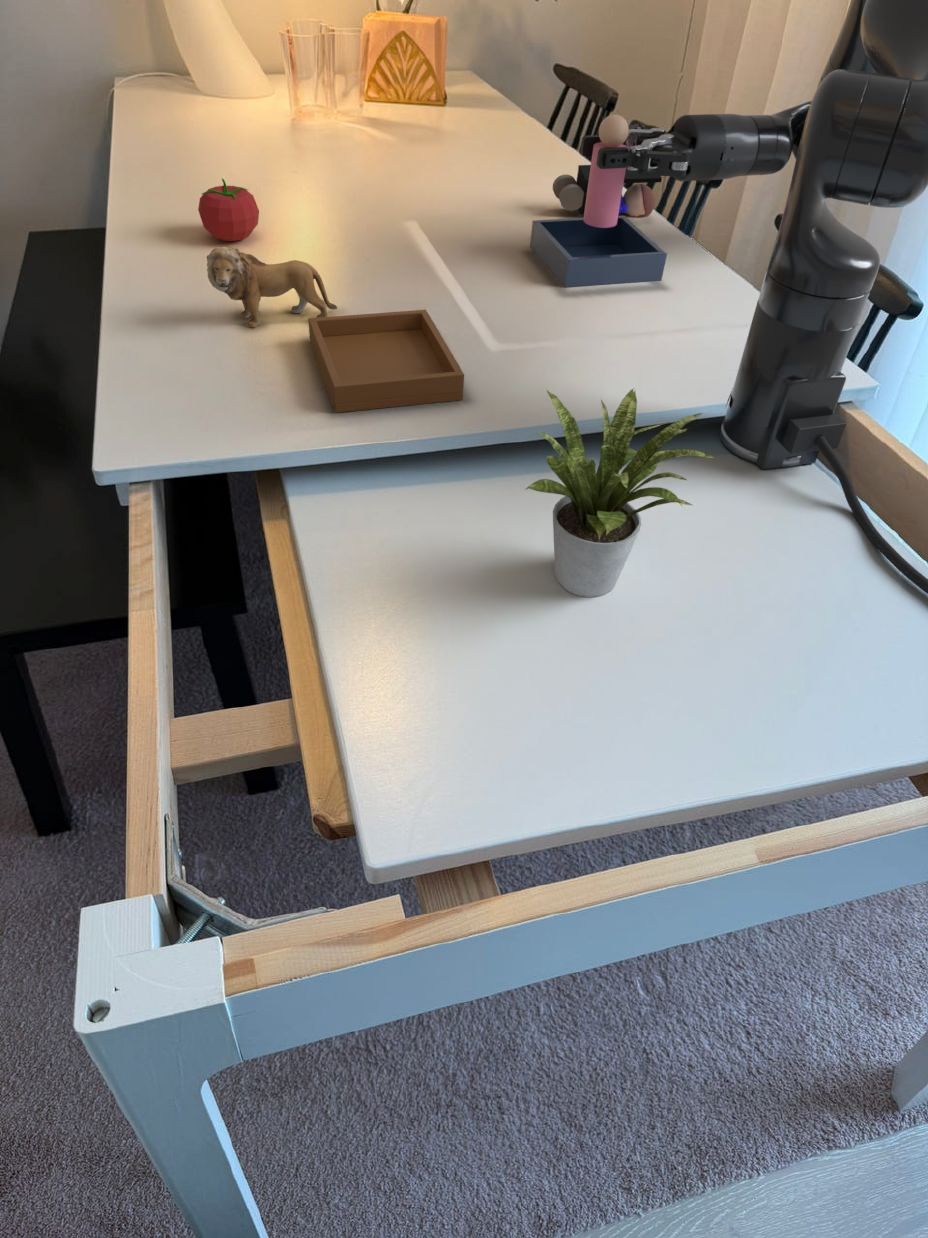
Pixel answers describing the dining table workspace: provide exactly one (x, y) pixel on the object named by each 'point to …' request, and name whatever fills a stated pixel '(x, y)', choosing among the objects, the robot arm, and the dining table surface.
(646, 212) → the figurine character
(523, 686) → the dining table surface
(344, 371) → the tray
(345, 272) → the dining table surface
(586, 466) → the house plant
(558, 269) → the blue square open box
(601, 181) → the doll
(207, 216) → the tomato
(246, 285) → the lion figurine
